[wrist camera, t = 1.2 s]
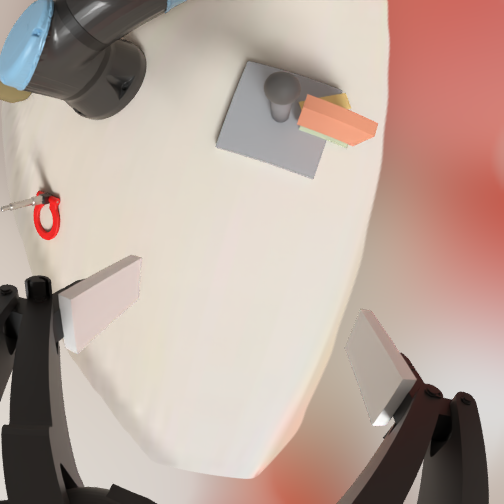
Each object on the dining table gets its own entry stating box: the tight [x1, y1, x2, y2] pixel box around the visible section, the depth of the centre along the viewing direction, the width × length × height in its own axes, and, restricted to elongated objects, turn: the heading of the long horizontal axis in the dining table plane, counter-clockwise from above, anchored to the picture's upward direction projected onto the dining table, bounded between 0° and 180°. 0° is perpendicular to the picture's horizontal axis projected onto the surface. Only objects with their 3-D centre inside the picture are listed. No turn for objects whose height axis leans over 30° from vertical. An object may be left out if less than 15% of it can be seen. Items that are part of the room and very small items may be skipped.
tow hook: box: [1, 191, 60, 240], centre depth 35 cm, size 8×13×9 cm
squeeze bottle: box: [0, 81, 31, 103], centre depth 26 cm, size 8×8×18 cm
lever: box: [264, 71, 378, 146], centre depth 27 cm, size 12×4×12 cm, turn 72°
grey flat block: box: [215, 61, 351, 179], centre depth 34 cm, size 17×14×2 cm
